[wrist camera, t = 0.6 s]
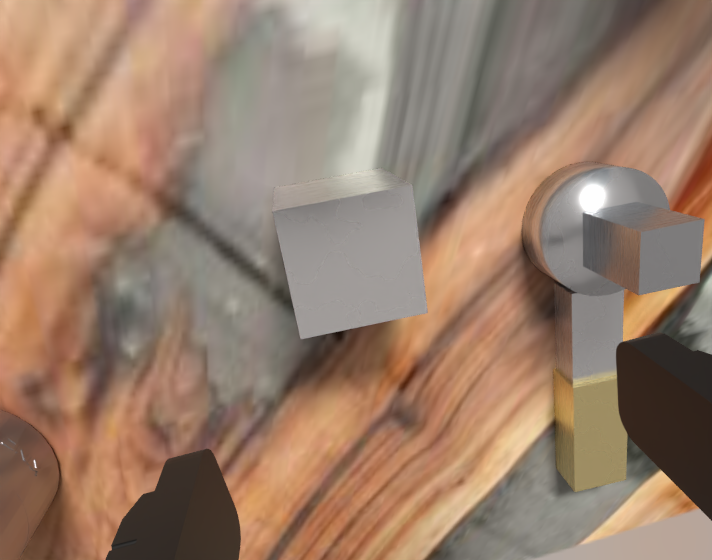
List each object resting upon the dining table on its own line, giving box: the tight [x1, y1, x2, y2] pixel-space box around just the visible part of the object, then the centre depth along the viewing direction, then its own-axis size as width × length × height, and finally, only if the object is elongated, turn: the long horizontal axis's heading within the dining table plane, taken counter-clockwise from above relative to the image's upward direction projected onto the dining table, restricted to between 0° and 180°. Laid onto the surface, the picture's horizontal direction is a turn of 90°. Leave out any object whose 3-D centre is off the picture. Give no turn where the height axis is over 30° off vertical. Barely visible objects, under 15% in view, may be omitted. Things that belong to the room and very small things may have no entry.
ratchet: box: [522, 162, 704, 492], centre depth 28 cm, size 21×7×8 cm, turn 9°
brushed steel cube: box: [272, 168, 428, 339], centre depth 24 cm, size 6×6×7 cm
